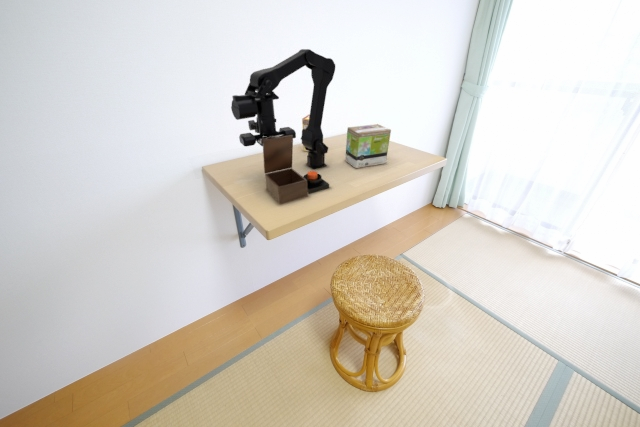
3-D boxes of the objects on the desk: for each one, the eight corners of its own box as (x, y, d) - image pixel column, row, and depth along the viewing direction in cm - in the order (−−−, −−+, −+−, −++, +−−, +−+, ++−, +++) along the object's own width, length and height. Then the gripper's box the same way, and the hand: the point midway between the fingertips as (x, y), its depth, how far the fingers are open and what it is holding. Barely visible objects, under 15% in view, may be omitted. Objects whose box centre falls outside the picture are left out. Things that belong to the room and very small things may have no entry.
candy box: (311, 152, 124) (310, 118, 115) (303, 151, 125) (301, 118, 117) (317, 146, 131) (316, 114, 123) (309, 145, 132) (308, 114, 124)
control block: (296, 182, 96) (296, 174, 94) (315, 178, 100) (315, 169, 98) (309, 193, 89) (309, 184, 87) (329, 188, 92) (329, 179, 91)
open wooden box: (307, 196, 87) (307, 180, 84) (279, 204, 83) (278, 187, 80) (292, 183, 96) (291, 168, 93) (266, 190, 92) (264, 174, 88)
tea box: (356, 169, 106) (359, 133, 98) (344, 161, 114) (346, 126, 106) (386, 163, 111) (391, 128, 103) (373, 156, 119) (377, 122, 111)
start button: (305, 177, 93) (305, 172, 92) (314, 174, 95) (314, 170, 94) (310, 180, 91) (310, 176, 90) (319, 178, 92) (319, 173, 91)
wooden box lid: (293, 135, 84) (292, 134, 84) (263, 140, 80) (262, 139, 80) (292, 167, 92) (291, 166, 93) (264, 173, 88) (264, 172, 88)
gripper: (282, 107, 96) (285, 148, 104) (231, 113, 88) (239, 157, 96) (295, 113, 87) (297, 157, 96) (240, 120, 80) (248, 167, 88)
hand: (270, 159), depth 94 cm, fingers closed
